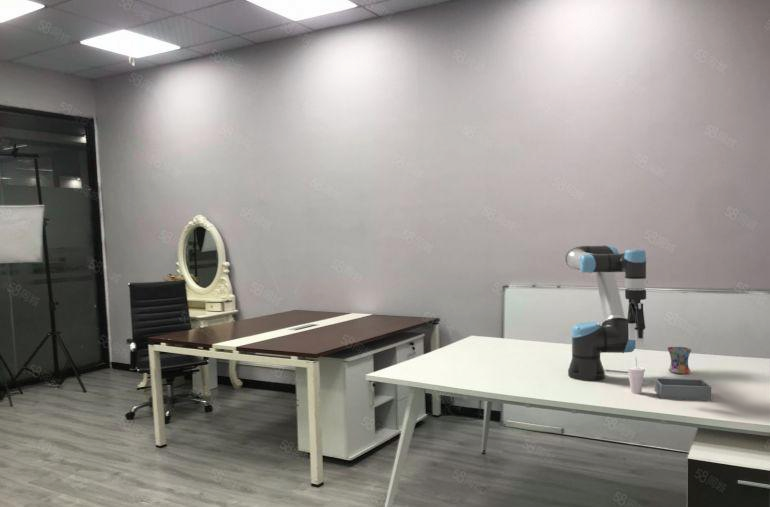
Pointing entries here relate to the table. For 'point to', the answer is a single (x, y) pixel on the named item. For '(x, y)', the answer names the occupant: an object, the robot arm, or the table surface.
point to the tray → (682, 389)
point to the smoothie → (636, 377)
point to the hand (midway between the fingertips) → (636, 343)
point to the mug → (679, 360)
